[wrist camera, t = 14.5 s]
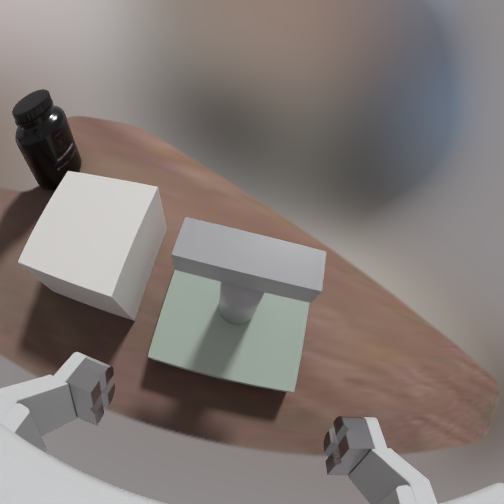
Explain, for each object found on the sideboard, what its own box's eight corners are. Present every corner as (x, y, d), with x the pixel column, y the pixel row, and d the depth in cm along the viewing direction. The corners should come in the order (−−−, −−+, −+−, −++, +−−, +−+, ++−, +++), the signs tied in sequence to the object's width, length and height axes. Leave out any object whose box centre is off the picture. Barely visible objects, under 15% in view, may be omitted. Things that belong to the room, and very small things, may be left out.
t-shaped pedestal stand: (154, 360, 24) (105, 330, 13) (190, 244, 30) (181, 151, 18) (286, 392, 24) (345, 388, 13) (306, 272, 30) (359, 196, 19)
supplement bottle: (82, 183, 32) (50, 108, 21) (36, 198, 30) (-4, 131, 19) (84, 147, 34) (61, 77, 24) (42, 161, 33) (12, 96, 22)
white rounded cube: (52, 291, 25) (17, 261, 19) (88, 211, 30) (68, 170, 24) (134, 321, 25) (111, 296, 19) (167, 229, 30) (158, 187, 24)
